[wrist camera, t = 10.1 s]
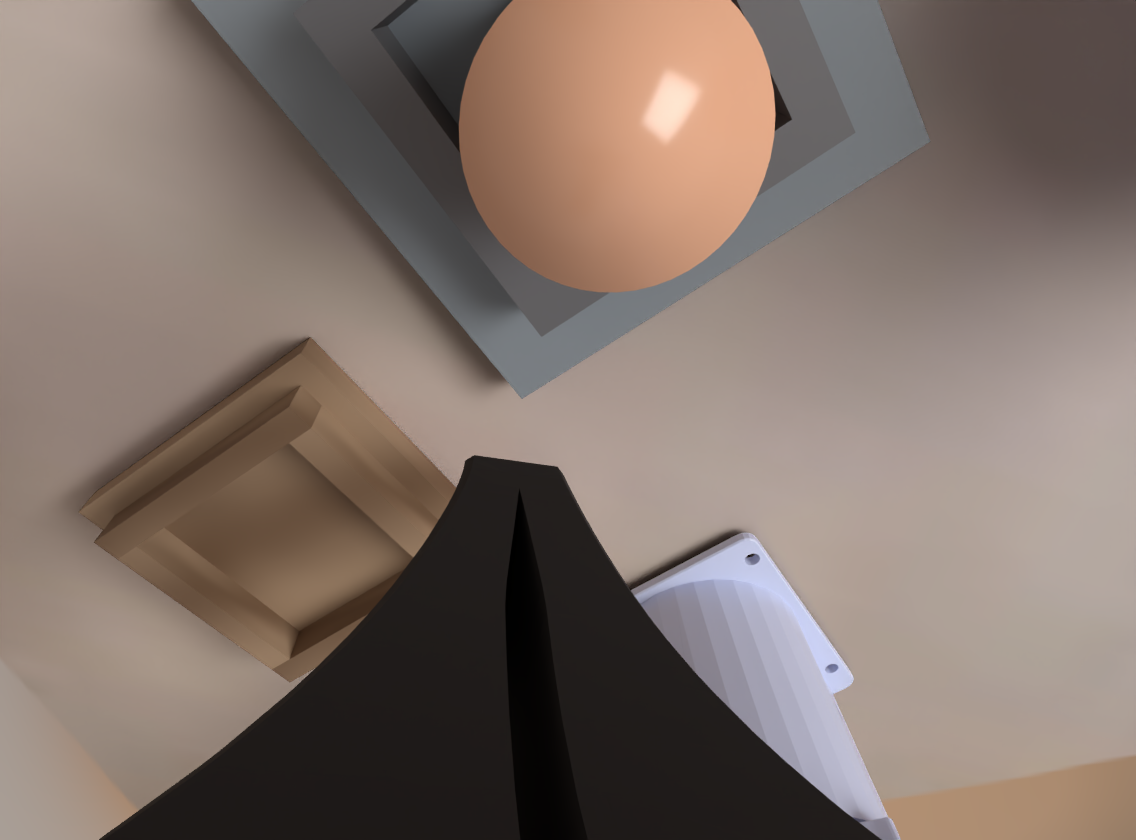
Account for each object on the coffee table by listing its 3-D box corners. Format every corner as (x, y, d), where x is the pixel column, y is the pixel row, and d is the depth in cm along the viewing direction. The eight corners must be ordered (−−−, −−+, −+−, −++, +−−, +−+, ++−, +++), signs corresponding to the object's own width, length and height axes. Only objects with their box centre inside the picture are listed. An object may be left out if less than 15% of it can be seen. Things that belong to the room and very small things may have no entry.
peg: (695, -18, 15) (813, -24, 9) (660, 194, 17) (736, 302, 11) (485, -44, 15) (463, -69, 9) (477, 178, 17) (455, 281, 11)
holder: (503, 536, 24) (502, 583, 22) (306, 650, 26) (289, 701, 24) (310, 336, 20) (288, 373, 18) (95, 491, 22) (56, 538, 20)
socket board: (906, 133, 18) (976, 158, 15) (521, 379, 21) (522, 437, 18) (675, -465, 13) (719, -594, 10) (197, -19, 15) (128, -22, 13)
